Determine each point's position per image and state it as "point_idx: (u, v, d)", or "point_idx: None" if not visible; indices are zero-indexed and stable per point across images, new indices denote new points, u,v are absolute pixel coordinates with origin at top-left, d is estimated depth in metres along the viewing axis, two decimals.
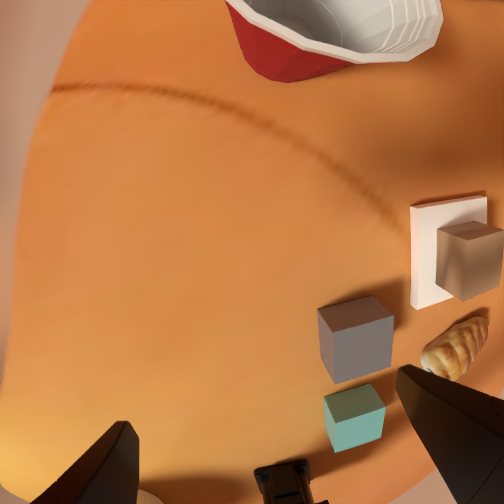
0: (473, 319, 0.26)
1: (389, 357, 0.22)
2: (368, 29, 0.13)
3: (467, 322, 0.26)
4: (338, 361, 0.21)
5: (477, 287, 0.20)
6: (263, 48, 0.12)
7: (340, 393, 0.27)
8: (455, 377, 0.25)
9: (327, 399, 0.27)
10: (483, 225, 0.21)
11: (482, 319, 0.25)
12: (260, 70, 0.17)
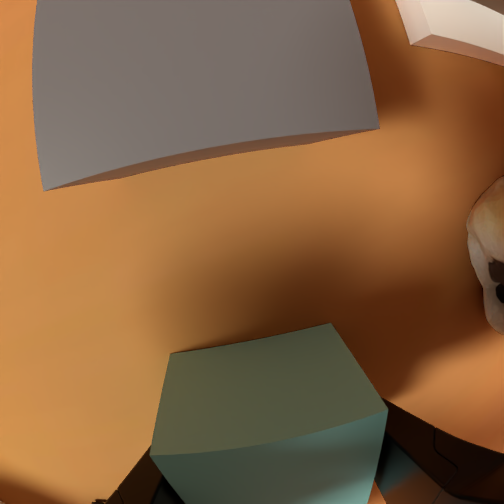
0: None
1: (356, 62, 0.04)
2: None
3: None
4: (50, 48, 0.03)
5: None
6: None
7: (223, 351, 0.09)
8: None
9: (175, 365, 0.08)
10: None
11: None
12: None
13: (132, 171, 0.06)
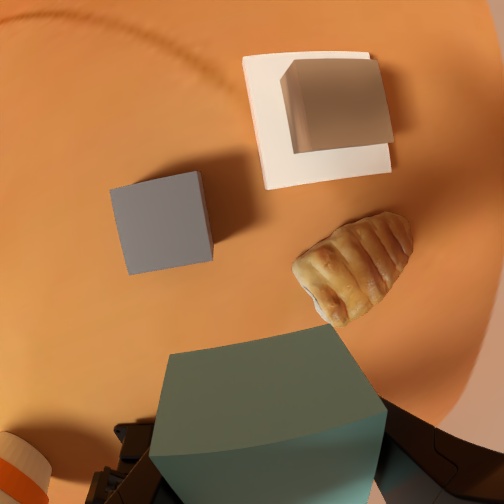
0: (377, 215, 0.21)
1: (205, 242, 0.17)
2: None
3: (365, 218, 0.20)
4: (125, 236, 0.16)
5: (340, 132, 0.15)
6: None
7: (223, 352, 0.09)
8: (356, 304, 0.20)
9: (174, 366, 0.08)
10: None
11: (393, 214, 0.20)
12: None
13: None
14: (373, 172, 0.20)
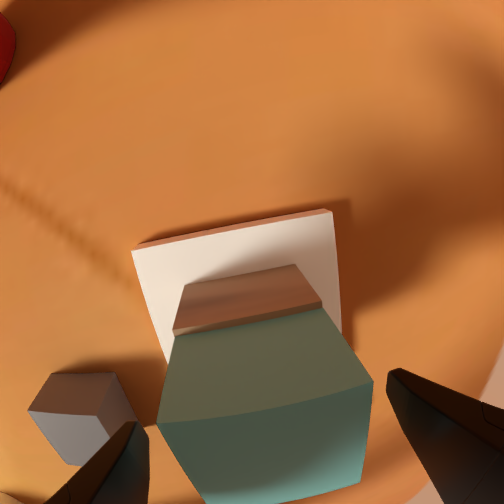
0: None
1: None
2: None
3: None
4: (53, 443, 0.13)
5: None
6: None
7: (224, 333, 0.10)
8: None
9: (179, 346, 0.09)
10: (291, 280, 0.12)
11: None
12: None
13: None
14: None
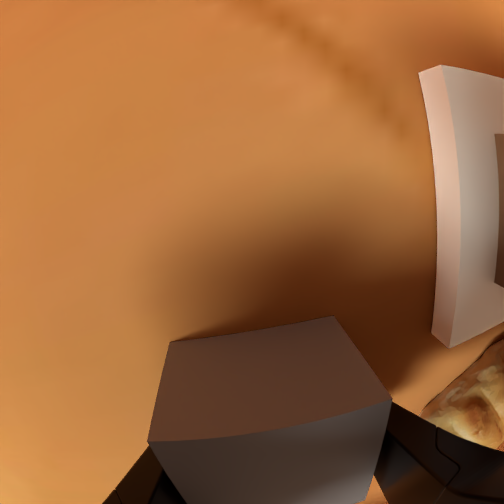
0: None
1: (363, 488, 0.06)
2: None
3: None
4: (198, 500, 0.06)
5: None
6: None
7: None
8: None
9: None
10: None
11: None
12: None
13: None
14: None
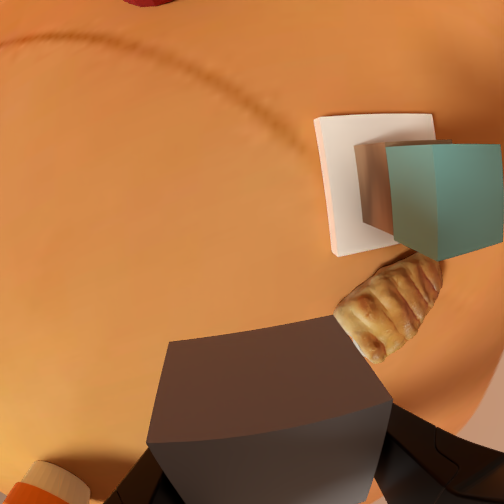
0: (410, 257, 0.21)
1: (364, 489, 0.06)
2: None
3: (399, 262, 0.20)
4: (198, 501, 0.06)
5: None
6: None
7: None
8: (394, 343, 0.20)
9: None
10: None
11: None
12: None
13: None
14: None
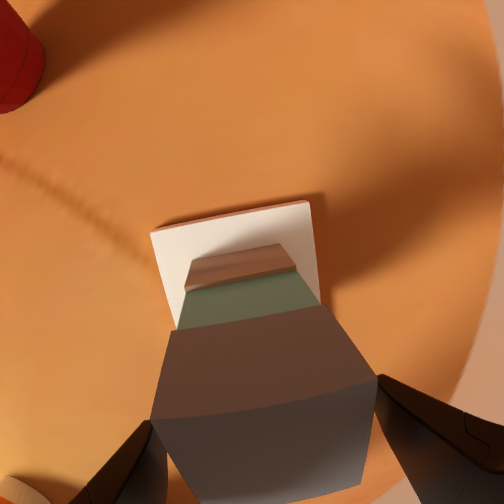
0: None
1: (357, 471, 0.07)
2: None
3: None
4: (199, 481, 0.06)
5: None
6: None
7: (223, 288, 0.13)
8: None
9: (190, 297, 0.13)
10: (275, 253, 0.16)
11: None
12: None
13: None
14: None
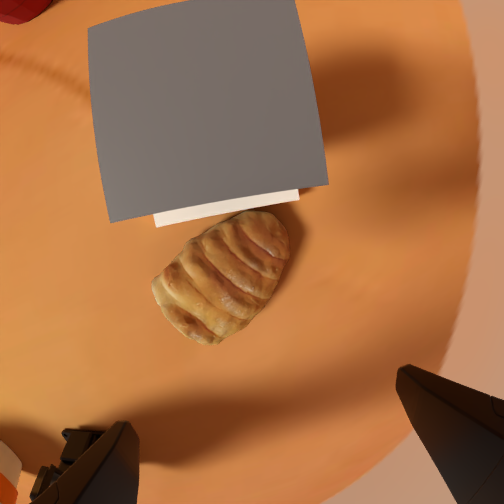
0: (234, 217, 0.19)
1: (314, 139, 0.06)
2: None
3: (217, 224, 0.19)
4: (108, 122, 0.06)
5: None
6: None
7: None
8: (216, 321, 0.18)
9: None
10: None
11: (251, 213, 0.19)
12: None
13: None
14: (275, 201, 0.19)
